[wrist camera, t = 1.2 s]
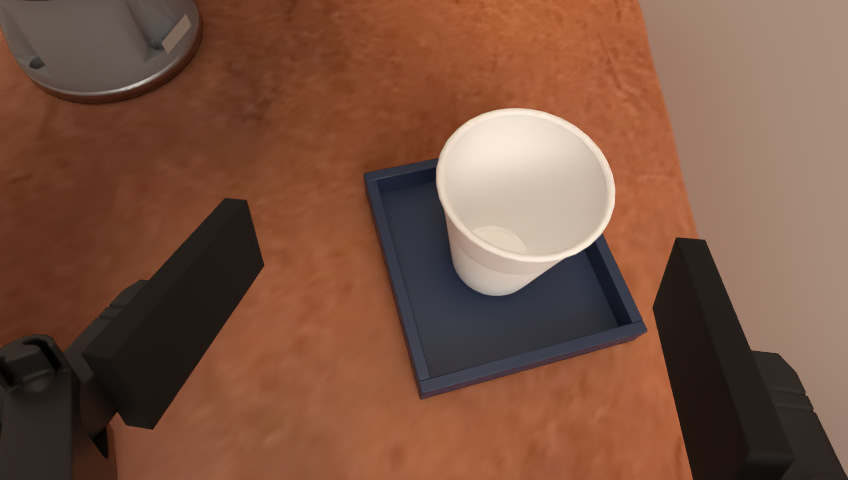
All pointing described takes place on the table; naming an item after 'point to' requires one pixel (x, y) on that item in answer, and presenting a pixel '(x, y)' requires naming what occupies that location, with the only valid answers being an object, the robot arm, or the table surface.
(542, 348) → the tray
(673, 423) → the table surface
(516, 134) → the cup
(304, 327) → the table surface
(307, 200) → the table surface
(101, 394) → the robot arm
